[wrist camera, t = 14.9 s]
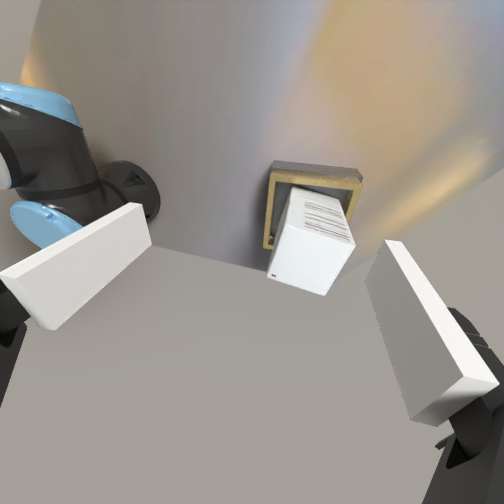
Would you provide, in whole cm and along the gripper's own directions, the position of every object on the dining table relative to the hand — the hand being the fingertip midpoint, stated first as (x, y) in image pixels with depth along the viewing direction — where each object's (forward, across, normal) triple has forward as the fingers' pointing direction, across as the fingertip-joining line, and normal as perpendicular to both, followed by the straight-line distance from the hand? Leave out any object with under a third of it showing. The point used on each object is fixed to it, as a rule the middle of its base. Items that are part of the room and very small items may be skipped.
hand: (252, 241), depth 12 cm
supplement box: (+31, +5, -11) cm, 33 cm away
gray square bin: (+37, +5, -11) cm, 39 cm away
